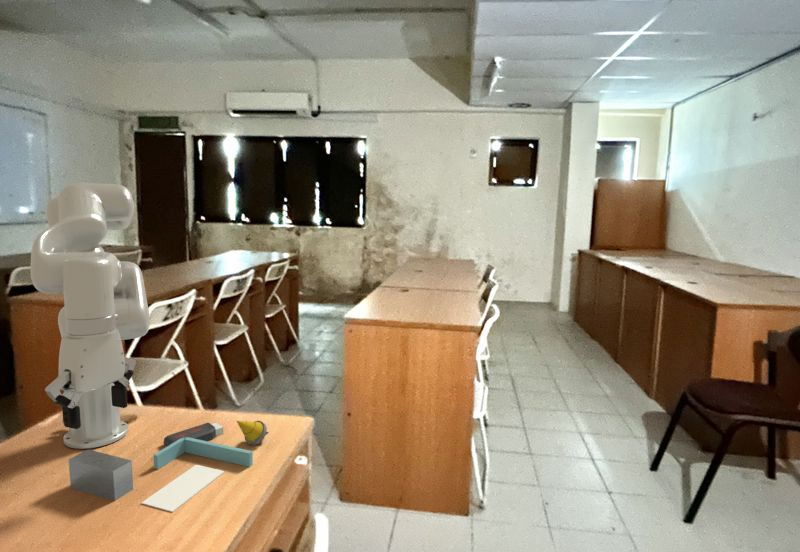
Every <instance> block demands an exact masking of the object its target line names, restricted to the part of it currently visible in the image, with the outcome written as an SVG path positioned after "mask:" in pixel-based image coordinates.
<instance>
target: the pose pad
mask: <svg viewBox="0 0 800 552" xmlns="http://www.w3.org/2000/svg"><path fill="white" fill-rule="evenodd" d="M225 472H226V471H224V470H221V469H216V468H212V467H208V466H205V465H204V466H203V465H199V464H194V465H193V466H192V467H191V468H189V469H188V470H186V471H185V472H183V473H182V474H181V475H179V476H177V477H176V478H175V479H173V480H172V481H170V482H169V483H167V484H166V485H165V486H163V487H162V488H161V489H159V490H158V491H156V492H154V493H153V494H152V495H150V496H148V497H147V498H146V499H145V500H143V501H142V502H141V505H145V506H148V507H152V508H155V509H159V510H162V511H167V512H171V513H174V512H176V510H178V509H179V508H180V507H182V506H183V505H184V504H185V503H187V502H188V501H189V500H191V499H192V498H193V497H195V496H197V494H199V492H201V491H202V490H204V489H205V488H206V487H207V486H209V485H210V484H211V483H213V482H214V481H215V480H217V479H218V478H219V477H221V475H223V474H225Z"/></svg>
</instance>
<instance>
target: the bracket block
mask: <svg viewBox="0 0 800 552" xmlns="http://www.w3.org/2000/svg"><path fill="white" fill-rule="evenodd" d="M68 471H69V481H70V489H72V490H75V491H80V492H83V493H86V494H89V495H93V496H96V497H99V498H103V499H107V500H110V501H113V502H116V501H117V500H119V499H120V498H122V497H124V496H125V495H127V494H129V493H130V492H131V491H134V476H133V474H134V473H133V461H132V459H127V458H123V457H120V456H116V455H112V454H108V453H103V452H101V451H96V450H93V449H92V450H91V449H90V448H87V449H86V450H84V451H83V452H80V453H78V454H77V455H74V456H72V457H70V458H68Z"/></svg>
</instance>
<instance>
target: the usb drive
mask: <svg viewBox="0 0 800 552" xmlns="http://www.w3.org/2000/svg"><path fill="white" fill-rule="evenodd" d="M221 435H224V426H222V425H220V423H218V422H214V423H210V422H205V423H202V424H199V425H196V426H193V427H190V428H189V427H188V428H187V429H184V430H181V431H178V432H174V433H171V434H169V435H166V436H165V437H164V438H163V446H164V448H166V447H167V446H169V445H171V444H172V443H174V442H176V441H177V440H179V439H181V438H182V437H184V436H185V437H189V438H194V439H198V440H203V441H208V442H211V441H212V440H214V439H215V438H216V437H219V436H221Z"/></svg>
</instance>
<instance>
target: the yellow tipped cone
mask: <svg viewBox="0 0 800 552" xmlns="http://www.w3.org/2000/svg"><path fill="white" fill-rule="evenodd" d="M236 423H237V425H238V427H239V428H240V430H241V432H242V434H243V435H244V440H245V443H248V444H249V445H251V446H255V445H256V446H257V445H258V444H260V443H261V442H262V441H263V439H265V437H266V436H267V435H268V434H269V432H268V431H267V430H268V427H267V425H266V424H265V423H264V422H263V421H261V420H255V421H247V420H246V421H245V420H236Z"/></svg>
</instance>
